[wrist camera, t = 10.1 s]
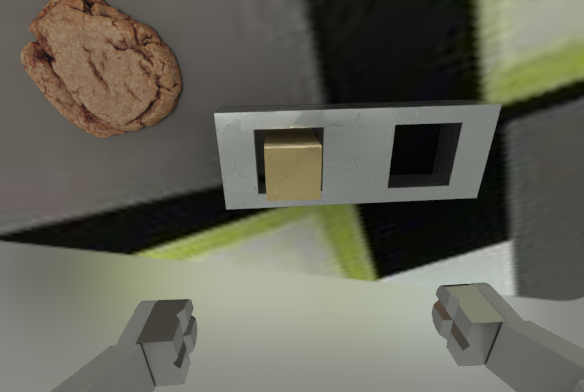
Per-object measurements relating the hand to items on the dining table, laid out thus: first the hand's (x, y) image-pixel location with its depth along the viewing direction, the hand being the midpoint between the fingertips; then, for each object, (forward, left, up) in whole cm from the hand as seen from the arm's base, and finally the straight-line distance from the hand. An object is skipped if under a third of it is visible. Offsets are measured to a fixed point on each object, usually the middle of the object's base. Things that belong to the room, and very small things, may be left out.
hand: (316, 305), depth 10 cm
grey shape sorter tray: (-5, 0, -18) cm, 19 cm away
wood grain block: (0, 0, -18) cm, 18 cm away
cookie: (+14, -7, -19) cm, 24 cm away
